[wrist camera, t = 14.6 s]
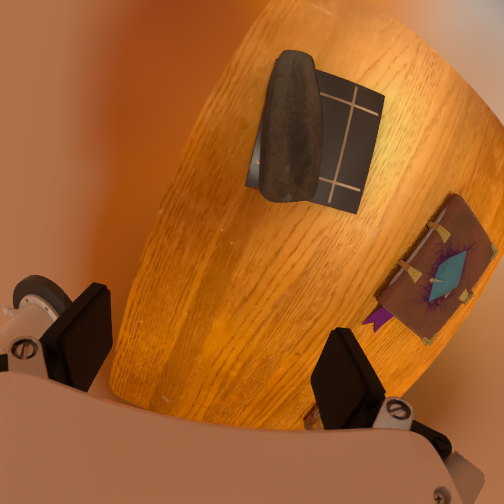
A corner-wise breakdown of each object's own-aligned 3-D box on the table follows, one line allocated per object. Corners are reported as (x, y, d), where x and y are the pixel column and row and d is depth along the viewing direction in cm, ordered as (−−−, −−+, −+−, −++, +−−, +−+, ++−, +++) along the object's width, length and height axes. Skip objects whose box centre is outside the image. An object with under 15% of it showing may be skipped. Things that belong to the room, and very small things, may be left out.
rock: (318, 412, 52) (294, 435, 44) (330, 384, 51) (306, 406, 43) (362, 433, 45) (342, 460, 37) (377, 404, 44) (360, 432, 36)
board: (245, 185, 32) (245, 186, 31) (275, 61, 27) (276, 58, 26) (353, 212, 34) (357, 214, 32) (381, 97, 28) (385, 95, 27)
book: (350, 314, 40) (359, 332, 35) (446, 188, 33) (466, 192, 28) (406, 354, 42) (417, 371, 37) (488, 249, 36) (506, 258, 31)
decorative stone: (312, 201, 32) (321, 207, 28) (257, 198, 32) (259, 204, 28) (318, 62, 26) (328, 50, 22) (263, 56, 26) (265, 43, 22)
